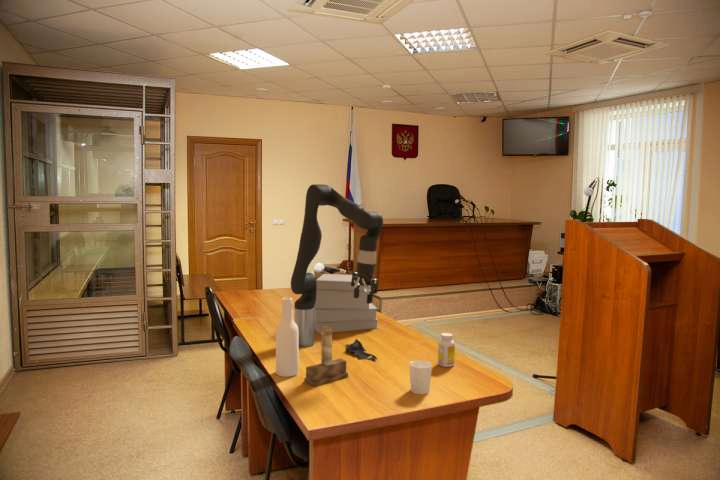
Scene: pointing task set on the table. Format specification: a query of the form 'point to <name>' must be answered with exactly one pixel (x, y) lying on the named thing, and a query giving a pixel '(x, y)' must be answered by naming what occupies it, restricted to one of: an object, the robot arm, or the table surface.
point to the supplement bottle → (446, 350)
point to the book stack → (342, 305)
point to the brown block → (326, 373)
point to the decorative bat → (359, 350)
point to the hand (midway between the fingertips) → (362, 300)
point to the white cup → (420, 377)
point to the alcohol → (287, 342)
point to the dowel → (326, 346)
